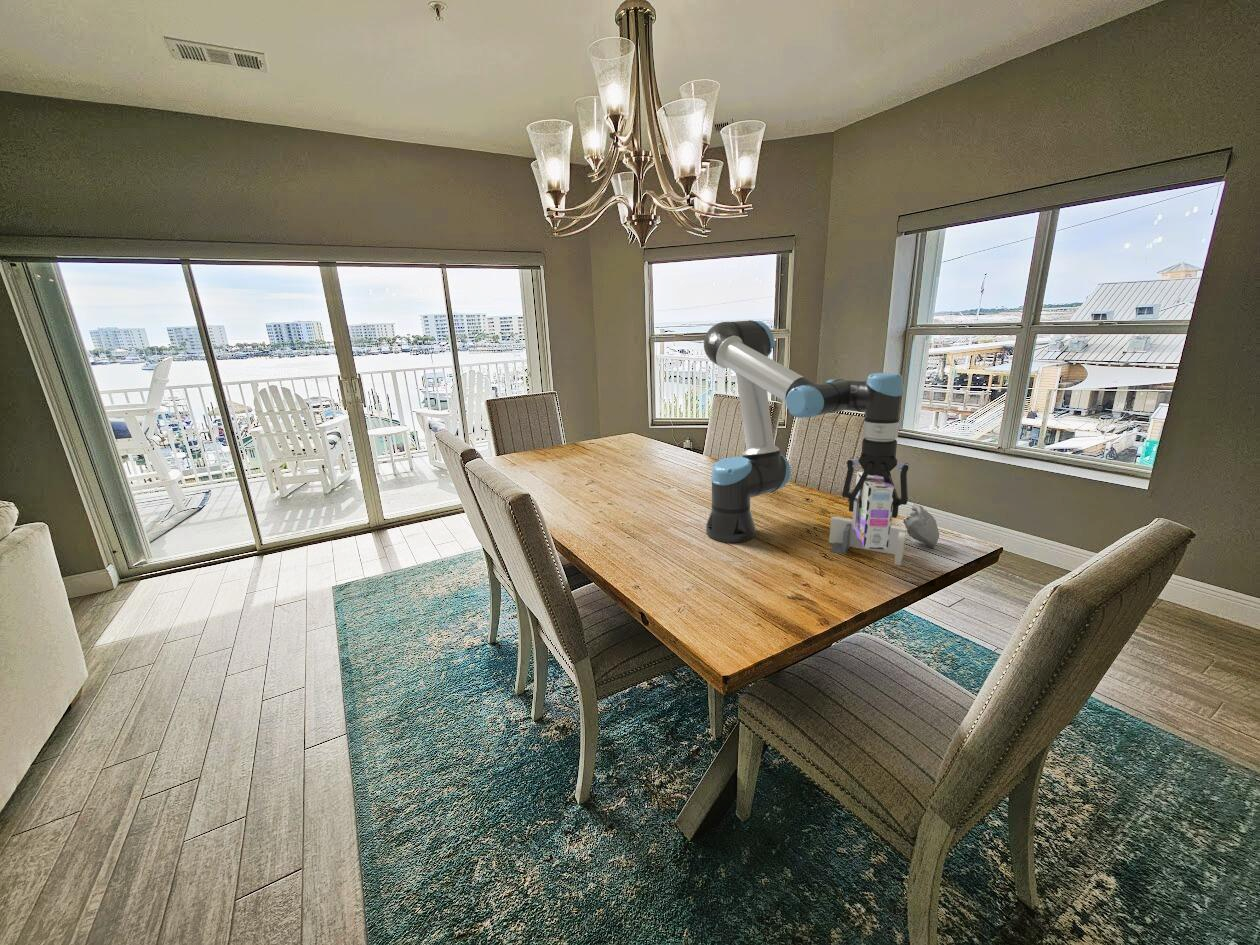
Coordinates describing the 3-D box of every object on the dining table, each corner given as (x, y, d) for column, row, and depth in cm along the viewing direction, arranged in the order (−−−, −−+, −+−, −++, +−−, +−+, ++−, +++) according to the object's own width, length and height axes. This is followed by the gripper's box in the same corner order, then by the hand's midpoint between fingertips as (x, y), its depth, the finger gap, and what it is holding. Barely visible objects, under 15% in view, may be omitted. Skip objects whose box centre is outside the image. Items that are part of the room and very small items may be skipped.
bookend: (830, 551, 135) (831, 528, 133) (834, 543, 140) (836, 521, 138) (845, 554, 133) (847, 531, 131) (849, 546, 138) (851, 523, 136)
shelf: (824, 550, 136) (826, 525, 134) (830, 540, 142) (832, 516, 140) (900, 565, 126) (904, 538, 124) (903, 554, 132) (906, 527, 130)
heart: (915, 554, 131) (928, 513, 127) (891, 539, 139) (903, 501, 136) (946, 556, 132) (960, 516, 129) (921, 541, 141) (933, 503, 138)
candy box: (888, 550, 118) (895, 486, 113) (862, 549, 119) (868, 486, 114) (874, 528, 130) (880, 470, 126) (851, 527, 132) (856, 470, 127)
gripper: (832, 438, 118) (826, 524, 125) (927, 444, 108) (916, 538, 114) (838, 432, 124) (832, 514, 131) (929, 438, 114) (918, 527, 120)
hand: (871, 525), depth 122 cm, fingers closed on candy box, 7 cm apart
